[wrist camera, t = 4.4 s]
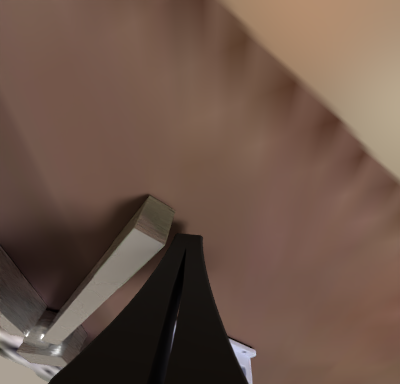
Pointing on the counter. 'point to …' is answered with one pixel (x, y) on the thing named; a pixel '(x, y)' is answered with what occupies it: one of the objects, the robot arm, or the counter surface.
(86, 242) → the counter surface
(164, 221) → the bar
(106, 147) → the counter surface
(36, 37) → the counter surface
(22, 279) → the arm
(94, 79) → the counter surface
